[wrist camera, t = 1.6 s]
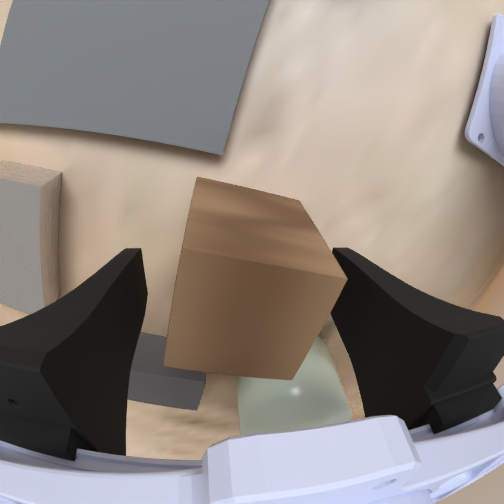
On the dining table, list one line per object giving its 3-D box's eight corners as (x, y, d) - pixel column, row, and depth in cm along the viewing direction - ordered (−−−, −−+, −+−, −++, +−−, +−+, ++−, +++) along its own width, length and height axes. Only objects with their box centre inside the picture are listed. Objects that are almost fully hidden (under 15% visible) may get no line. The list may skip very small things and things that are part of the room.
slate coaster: (296, -75, 7) (299, -80, 7) (222, 152, 12) (222, 155, 12) (59, -87, 5) (54, -91, 4) (-4, 120, 10) (-11, 122, 9)
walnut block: (299, 200, 14) (347, 279, 9) (268, 283, 16) (292, 380, 11) (196, 176, 13) (182, 247, 8) (178, 267, 15) (163, 365, 10)
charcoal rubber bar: (206, 340, 18) (205, 381, 15) (197, 371, 19) (197, 410, 16) (72, 313, 16) (56, 351, 13) (77, 347, 17) (64, 383, 15)
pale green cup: (344, 333, 18) (372, 399, 14) (307, 391, 21) (322, 450, 17) (249, 322, 17) (259, 398, 13) (224, 386, 20) (229, 452, 15)
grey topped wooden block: (-12, 155, 11) (-41, 169, 9) (65, 169, 12) (40, 187, 10) (-6, 269, 14) (-25, 293, 12) (61, 291, 15) (45, 319, 13)
